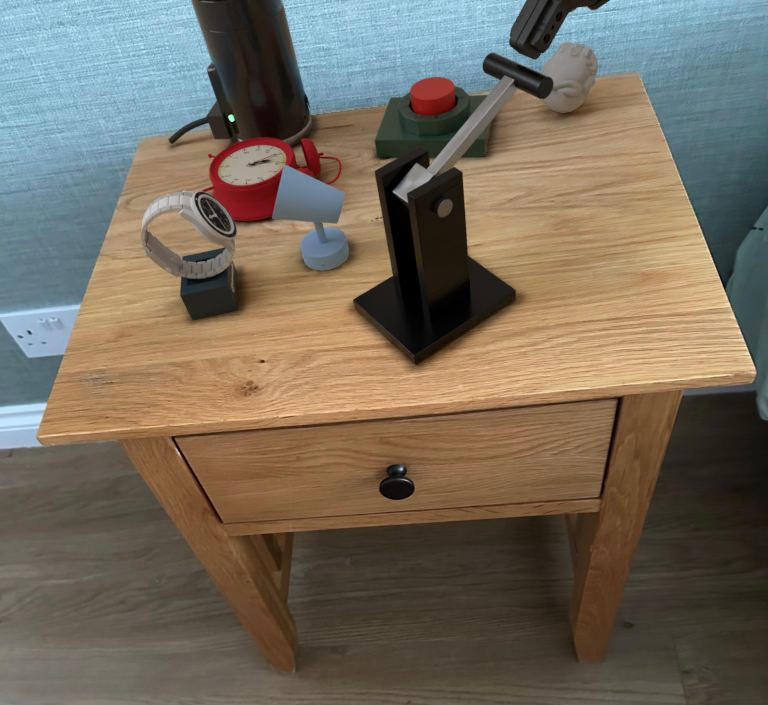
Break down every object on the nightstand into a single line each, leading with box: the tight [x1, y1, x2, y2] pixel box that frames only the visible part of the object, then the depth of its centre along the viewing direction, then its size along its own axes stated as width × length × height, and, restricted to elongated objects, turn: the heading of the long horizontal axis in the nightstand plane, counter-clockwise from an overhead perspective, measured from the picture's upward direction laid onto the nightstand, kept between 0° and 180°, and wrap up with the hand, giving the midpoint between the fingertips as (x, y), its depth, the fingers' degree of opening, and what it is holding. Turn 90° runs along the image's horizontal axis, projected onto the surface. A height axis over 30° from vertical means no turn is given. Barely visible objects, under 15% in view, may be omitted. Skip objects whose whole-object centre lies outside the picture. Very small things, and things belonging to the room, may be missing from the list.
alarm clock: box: [200, 137, 343, 222], centre depth 74 cm, size 10×6×15 cm
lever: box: [393, 52, 554, 209], centre depth 52 cm, size 13×6×2 cm
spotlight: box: [271, 164, 350, 271], centre depth 64 cm, size 5×10×7 cm
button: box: [409, 76, 456, 115], centre depth 76 cm, size 5×5×2 cm
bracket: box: [352, 146, 517, 366], centre depth 56 cm, size 11×9×14 cm
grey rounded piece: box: [540, 41, 599, 114], centre depth 76 cm, size 6×7×7 cm
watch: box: [140, 189, 239, 321], centre depth 62 cm, size 6×8×11 cm
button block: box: [374, 85, 493, 158], centre depth 77 cm, size 12×9×4 cm
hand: (522, 52), depth 50 cm, fingers closed
